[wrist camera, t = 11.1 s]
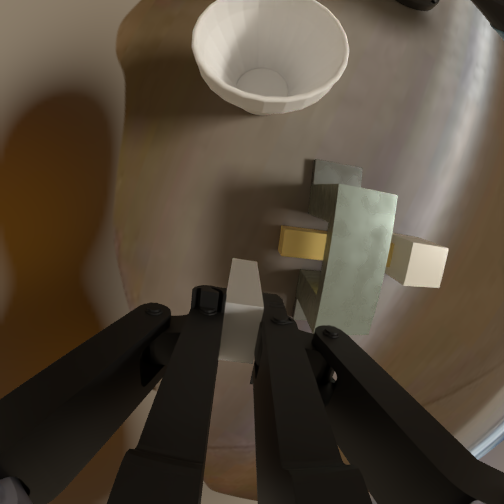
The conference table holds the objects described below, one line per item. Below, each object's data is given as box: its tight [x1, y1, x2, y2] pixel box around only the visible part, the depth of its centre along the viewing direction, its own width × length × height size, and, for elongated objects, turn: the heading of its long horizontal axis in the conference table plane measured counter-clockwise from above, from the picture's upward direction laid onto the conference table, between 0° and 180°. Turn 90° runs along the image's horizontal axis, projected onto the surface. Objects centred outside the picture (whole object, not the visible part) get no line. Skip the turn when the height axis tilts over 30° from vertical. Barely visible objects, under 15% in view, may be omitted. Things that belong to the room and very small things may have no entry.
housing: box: [292, 159, 398, 335], centre depth 28 cm, size 20×6×10 cm, turn 174°
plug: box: [278, 225, 449, 288], centre depth 30 cm, size 5×20×7 cm, turn 83°
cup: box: [192, 0, 349, 116], centre depth 22 cm, size 12×12×14 cm
